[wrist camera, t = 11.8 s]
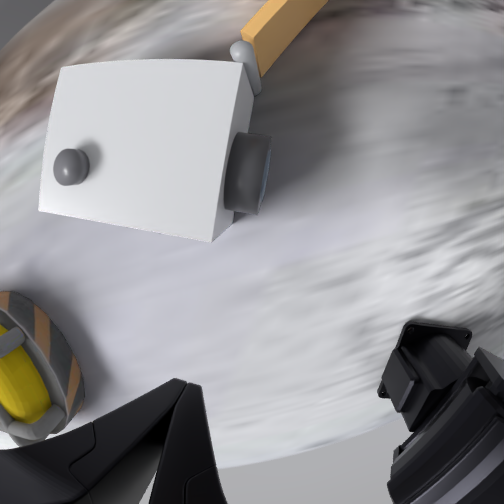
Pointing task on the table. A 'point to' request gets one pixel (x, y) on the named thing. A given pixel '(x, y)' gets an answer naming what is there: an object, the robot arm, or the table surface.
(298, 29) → the side door
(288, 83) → the table surface
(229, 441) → the table surface
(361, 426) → the table surface
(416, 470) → the robot arm
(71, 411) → the cage light
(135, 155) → the block
